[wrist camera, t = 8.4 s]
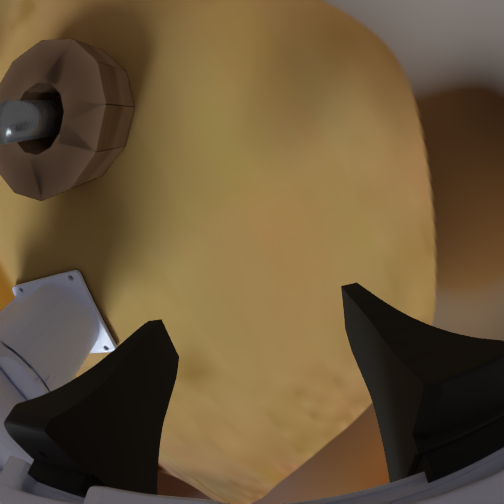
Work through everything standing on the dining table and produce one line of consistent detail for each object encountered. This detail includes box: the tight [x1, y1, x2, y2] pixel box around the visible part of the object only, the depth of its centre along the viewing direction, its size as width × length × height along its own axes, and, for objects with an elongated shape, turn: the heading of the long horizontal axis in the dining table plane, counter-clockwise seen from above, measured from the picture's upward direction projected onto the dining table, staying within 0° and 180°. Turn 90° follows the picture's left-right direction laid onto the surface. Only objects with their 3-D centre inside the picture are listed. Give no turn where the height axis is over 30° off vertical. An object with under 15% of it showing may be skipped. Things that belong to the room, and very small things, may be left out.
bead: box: [0, 39, 135, 201], centre depth 15 cm, size 10×10×4 cm
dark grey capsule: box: [0, 100, 64, 145], centre depth 14 cm, size 2×2×7 cm
